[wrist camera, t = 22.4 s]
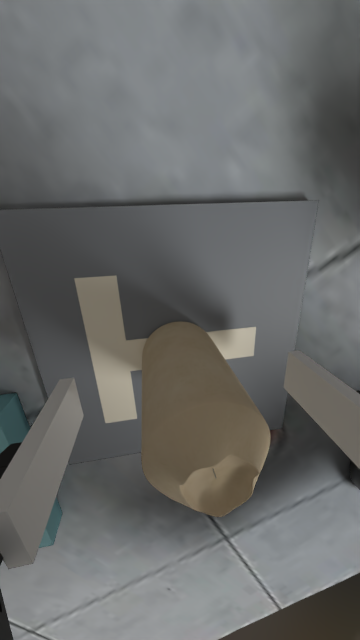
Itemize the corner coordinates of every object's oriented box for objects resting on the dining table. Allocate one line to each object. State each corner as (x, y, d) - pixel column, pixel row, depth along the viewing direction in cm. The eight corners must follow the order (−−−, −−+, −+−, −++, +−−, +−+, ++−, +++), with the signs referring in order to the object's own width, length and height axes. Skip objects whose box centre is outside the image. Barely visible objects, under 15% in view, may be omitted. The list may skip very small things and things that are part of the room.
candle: (127, 342, 16) (108, 486, 7) (195, 307, 16) (267, 406, 7) (163, 394, 18) (184, 557, 9) (223, 363, 18) (306, 497, 9)
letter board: (310, 201, 15) (319, 200, 15) (277, 421, 23) (282, 428, 22) (-4, 211, 13) (-13, 210, 12) (72, 456, 20) (69, 465, 19)
